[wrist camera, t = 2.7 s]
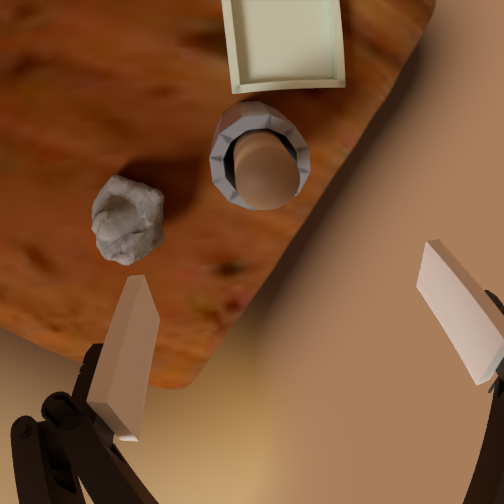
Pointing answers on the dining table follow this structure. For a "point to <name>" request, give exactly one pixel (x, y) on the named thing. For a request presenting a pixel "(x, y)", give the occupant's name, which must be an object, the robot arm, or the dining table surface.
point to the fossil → (127, 220)
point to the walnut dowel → (264, 169)
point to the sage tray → (284, 44)
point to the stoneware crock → (247, 119)
